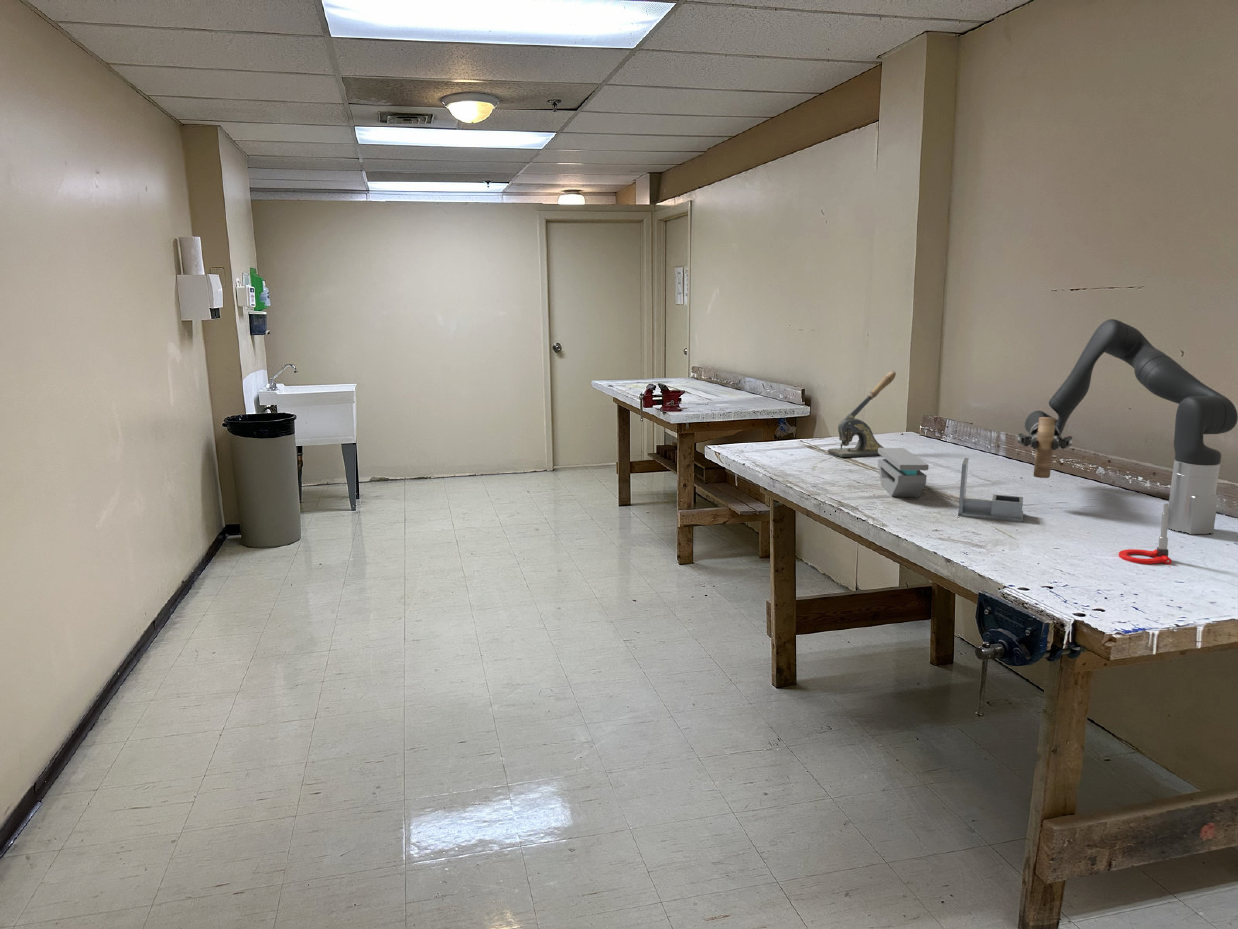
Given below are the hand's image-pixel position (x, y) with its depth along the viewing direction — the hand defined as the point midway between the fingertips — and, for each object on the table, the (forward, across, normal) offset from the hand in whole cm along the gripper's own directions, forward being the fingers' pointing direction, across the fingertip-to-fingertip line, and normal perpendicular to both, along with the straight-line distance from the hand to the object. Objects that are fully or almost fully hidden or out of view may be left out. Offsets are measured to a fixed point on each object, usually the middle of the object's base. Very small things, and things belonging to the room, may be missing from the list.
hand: (1044, 445), depth 220 cm
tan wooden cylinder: (-3, 0, +9) cm, 9 cm away
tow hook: (+36, +21, +18) cm, 45 cm away
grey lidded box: (-6, -37, +18) cm, 42 cm away
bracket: (+11, -11, +18) cm, 24 cm away
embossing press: (-59, -57, +18) cm, 84 cm away
